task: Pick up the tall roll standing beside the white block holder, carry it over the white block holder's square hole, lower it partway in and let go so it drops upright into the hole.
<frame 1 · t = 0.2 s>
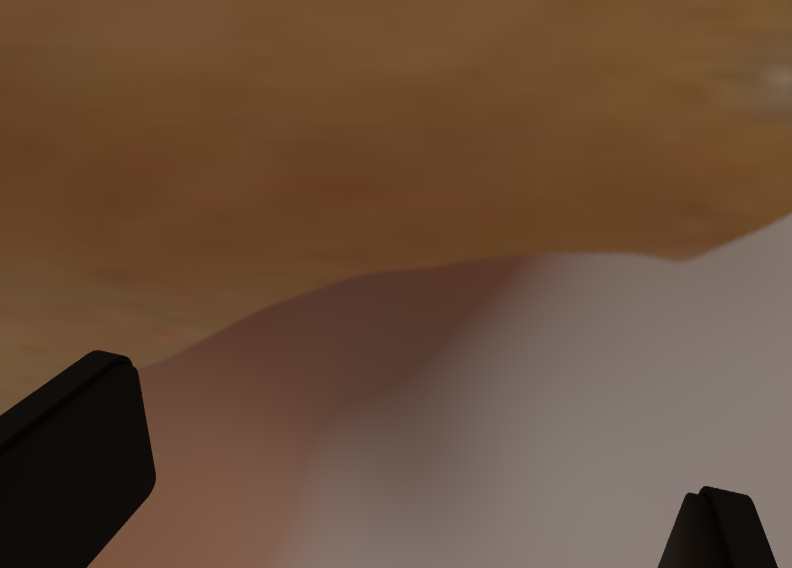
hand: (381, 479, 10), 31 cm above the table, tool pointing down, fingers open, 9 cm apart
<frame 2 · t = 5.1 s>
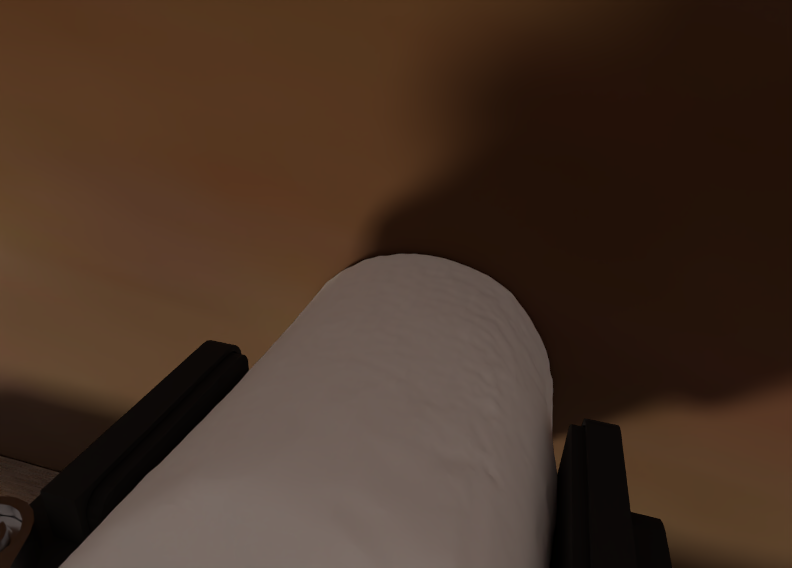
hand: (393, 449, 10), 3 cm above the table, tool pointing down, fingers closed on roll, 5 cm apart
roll: (432, 357, 13), on the table, touching gripper
when the fingers open (7 cm above the table, at t = 11.5 s): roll drops 4 cm, resting in white block holder.
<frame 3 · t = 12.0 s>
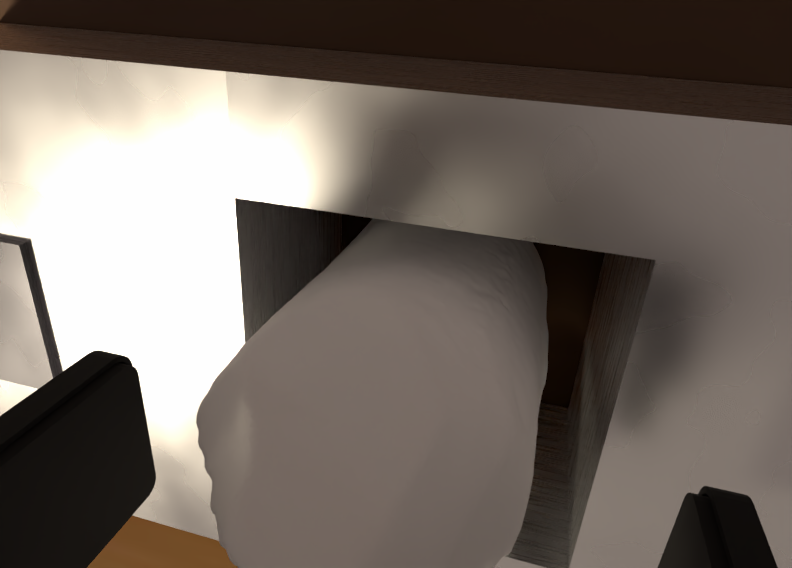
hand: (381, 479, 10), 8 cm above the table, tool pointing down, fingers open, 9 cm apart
white block holder: (461, 279, 17), on the table
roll: (455, 273, 17), resting in white block holder
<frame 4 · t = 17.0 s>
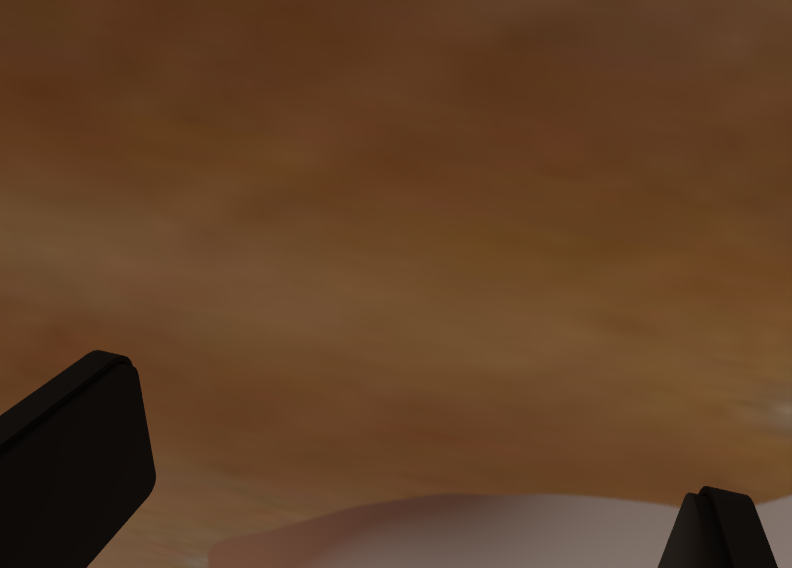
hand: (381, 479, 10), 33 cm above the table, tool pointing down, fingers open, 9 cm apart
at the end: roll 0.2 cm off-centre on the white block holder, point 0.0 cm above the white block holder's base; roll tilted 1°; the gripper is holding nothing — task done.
